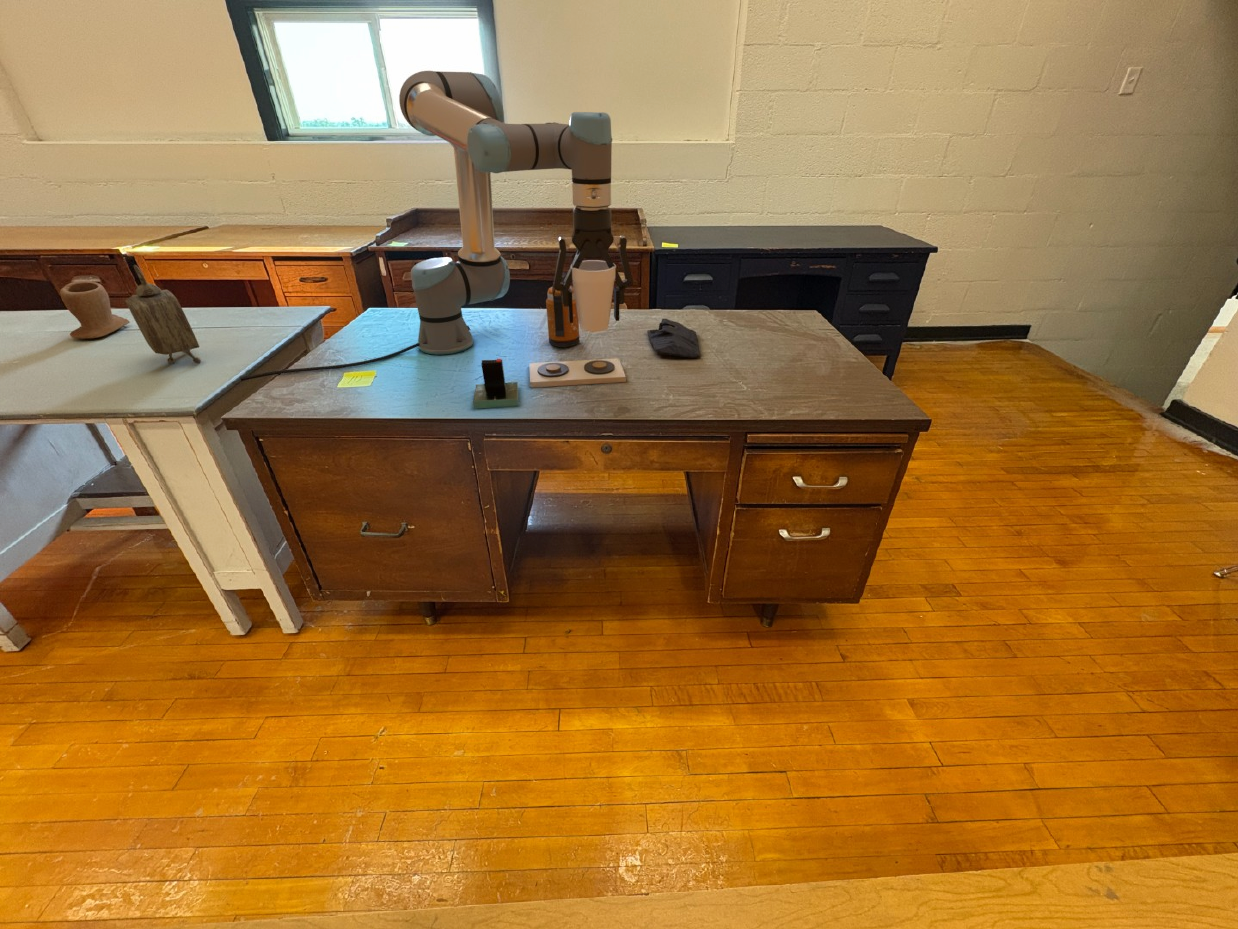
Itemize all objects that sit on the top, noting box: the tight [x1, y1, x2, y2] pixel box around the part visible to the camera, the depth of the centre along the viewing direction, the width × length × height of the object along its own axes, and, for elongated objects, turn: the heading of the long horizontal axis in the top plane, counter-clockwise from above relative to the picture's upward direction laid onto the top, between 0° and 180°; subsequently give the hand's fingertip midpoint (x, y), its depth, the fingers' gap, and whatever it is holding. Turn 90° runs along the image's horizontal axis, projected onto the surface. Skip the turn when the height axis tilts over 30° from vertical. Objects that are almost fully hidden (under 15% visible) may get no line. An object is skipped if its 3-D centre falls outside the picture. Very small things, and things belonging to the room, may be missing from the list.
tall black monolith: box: [481, 358, 506, 393], centre depth 121 cm, size 5×2×8 cm, turn 99°
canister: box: [545, 272, 580, 348], centre depth 148 cm, size 9×11×20 cm
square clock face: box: [472, 381, 519, 410], centre depth 124 cm, size 10×9×2 cm
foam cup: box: [569, 259, 617, 333], centre depth 111 cm, size 10×9×13 cm
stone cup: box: [59, 280, 131, 339], centre depth 155 cm, size 15×12×15 cm
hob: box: [529, 357, 627, 388], centre depth 135 cm, size 24×12×3 cm, turn 99°
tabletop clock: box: [125, 264, 202, 364], centre depth 135 cm, size 14×9×25 cm, turn 47°
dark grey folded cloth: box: [646, 318, 701, 359], centre depth 152 cm, size 15×22×5 cm
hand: (593, 319), depth 114 cm, fingers closed on foam cup, 9 cm apart
